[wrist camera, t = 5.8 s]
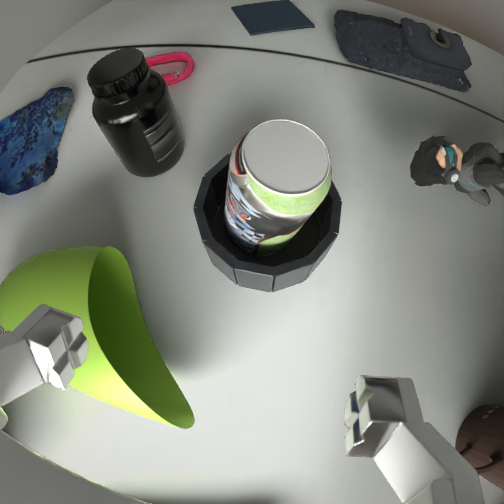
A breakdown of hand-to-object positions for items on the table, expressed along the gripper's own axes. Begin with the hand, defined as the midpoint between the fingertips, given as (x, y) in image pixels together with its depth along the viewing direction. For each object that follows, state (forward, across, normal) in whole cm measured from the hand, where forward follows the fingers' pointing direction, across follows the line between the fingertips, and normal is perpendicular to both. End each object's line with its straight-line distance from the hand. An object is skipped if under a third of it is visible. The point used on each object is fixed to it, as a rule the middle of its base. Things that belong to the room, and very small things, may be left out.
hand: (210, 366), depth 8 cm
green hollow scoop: (+12, +13, +12) cm, 21 cm away
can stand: (+20, 0, +4) cm, 20 cm away
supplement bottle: (+25, +13, -1) cm, 28 cm away
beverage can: (+20, 0, +4) cm, 20 cm away
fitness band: (+34, +16, -10) cm, 39 cm away
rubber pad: (+45, +5, -22) cm, 51 cm away
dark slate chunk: (+44, -16, -20) cm, 50 cm away
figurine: (+28, -26, -4) cm, 38 cm away
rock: (+25, +32, -1) cm, 41 cm away
